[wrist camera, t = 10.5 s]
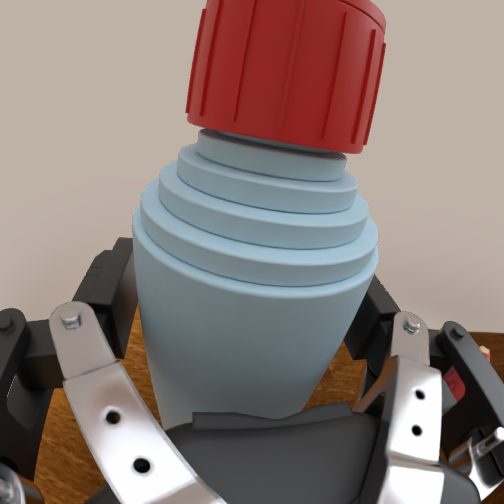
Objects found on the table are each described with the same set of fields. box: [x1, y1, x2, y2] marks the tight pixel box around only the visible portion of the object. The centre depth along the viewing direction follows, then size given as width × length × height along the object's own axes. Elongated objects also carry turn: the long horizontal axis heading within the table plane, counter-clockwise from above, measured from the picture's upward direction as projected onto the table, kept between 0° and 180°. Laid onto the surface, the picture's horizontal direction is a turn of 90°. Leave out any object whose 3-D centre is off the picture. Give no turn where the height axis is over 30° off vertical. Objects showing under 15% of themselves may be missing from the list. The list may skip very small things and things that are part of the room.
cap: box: [186, 0, 386, 154], centre depth 5 cm, size 4×4×3 cm
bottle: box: [132, 128, 379, 431], centre depth 9 cm, size 6×6×18 cm
